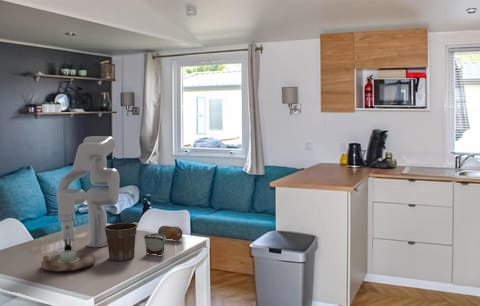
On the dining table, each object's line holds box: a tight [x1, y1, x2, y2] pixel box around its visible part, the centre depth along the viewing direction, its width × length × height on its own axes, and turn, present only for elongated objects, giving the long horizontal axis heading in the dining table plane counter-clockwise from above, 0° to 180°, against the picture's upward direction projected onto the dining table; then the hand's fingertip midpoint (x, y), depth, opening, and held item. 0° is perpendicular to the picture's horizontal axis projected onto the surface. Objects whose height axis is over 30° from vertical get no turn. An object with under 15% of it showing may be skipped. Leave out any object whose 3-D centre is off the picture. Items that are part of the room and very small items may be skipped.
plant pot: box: [104, 222, 138, 262], centre depth 231 cm, size 16×16×16 cm
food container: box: [143, 232, 166, 256], centre depth 237 cm, size 12×6×10 cm, turn 65°
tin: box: [157, 225, 183, 241], centre depth 263 cm, size 15×3×8 cm, turn 67°
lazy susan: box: [41, 251, 96, 272], centre depth 218 cm, size 24×24×4 cm
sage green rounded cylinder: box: [59, 249, 77, 262], centre depth 218 cm, size 7×7×4 cm
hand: (68, 254), depth 223 cm, fingers closed
